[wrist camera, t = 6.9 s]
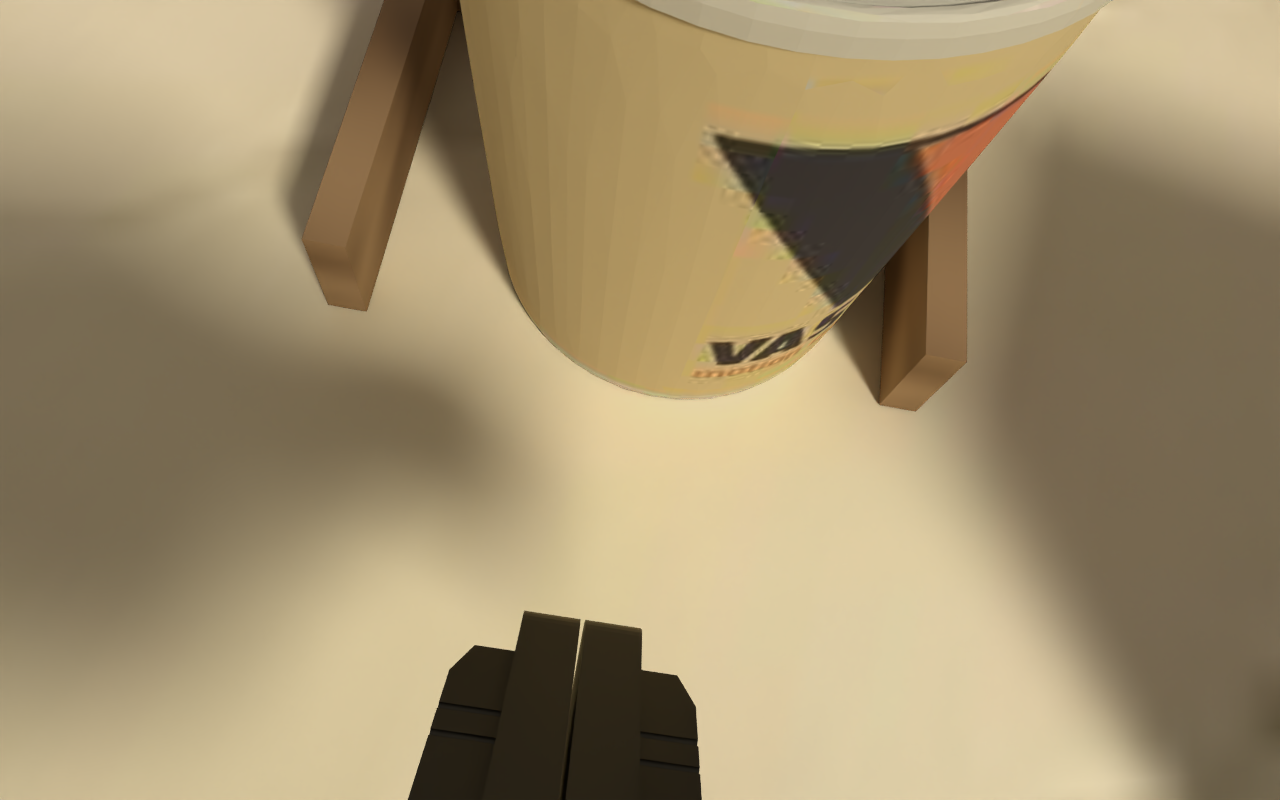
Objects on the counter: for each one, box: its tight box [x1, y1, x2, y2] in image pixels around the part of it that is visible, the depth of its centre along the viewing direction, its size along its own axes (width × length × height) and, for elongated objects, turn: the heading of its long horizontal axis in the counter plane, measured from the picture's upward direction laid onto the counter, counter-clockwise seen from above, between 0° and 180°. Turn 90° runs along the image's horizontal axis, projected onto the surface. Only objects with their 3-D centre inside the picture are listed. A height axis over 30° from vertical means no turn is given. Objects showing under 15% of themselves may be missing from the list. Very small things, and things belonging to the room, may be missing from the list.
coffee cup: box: [460, 0, 1112, 399], centre depth 15 cm, size 9×9×12 cm
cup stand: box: [302, 0, 967, 411], centre depth 20 cm, size 9×13×2 cm
